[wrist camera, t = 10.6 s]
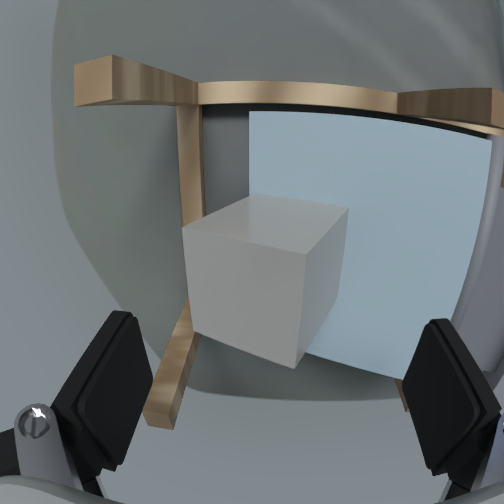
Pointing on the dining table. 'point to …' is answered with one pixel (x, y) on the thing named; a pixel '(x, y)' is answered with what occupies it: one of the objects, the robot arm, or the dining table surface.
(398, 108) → the frame
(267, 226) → the light grey block
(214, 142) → the dining table surface
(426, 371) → the robot arm
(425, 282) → the trapdoor
